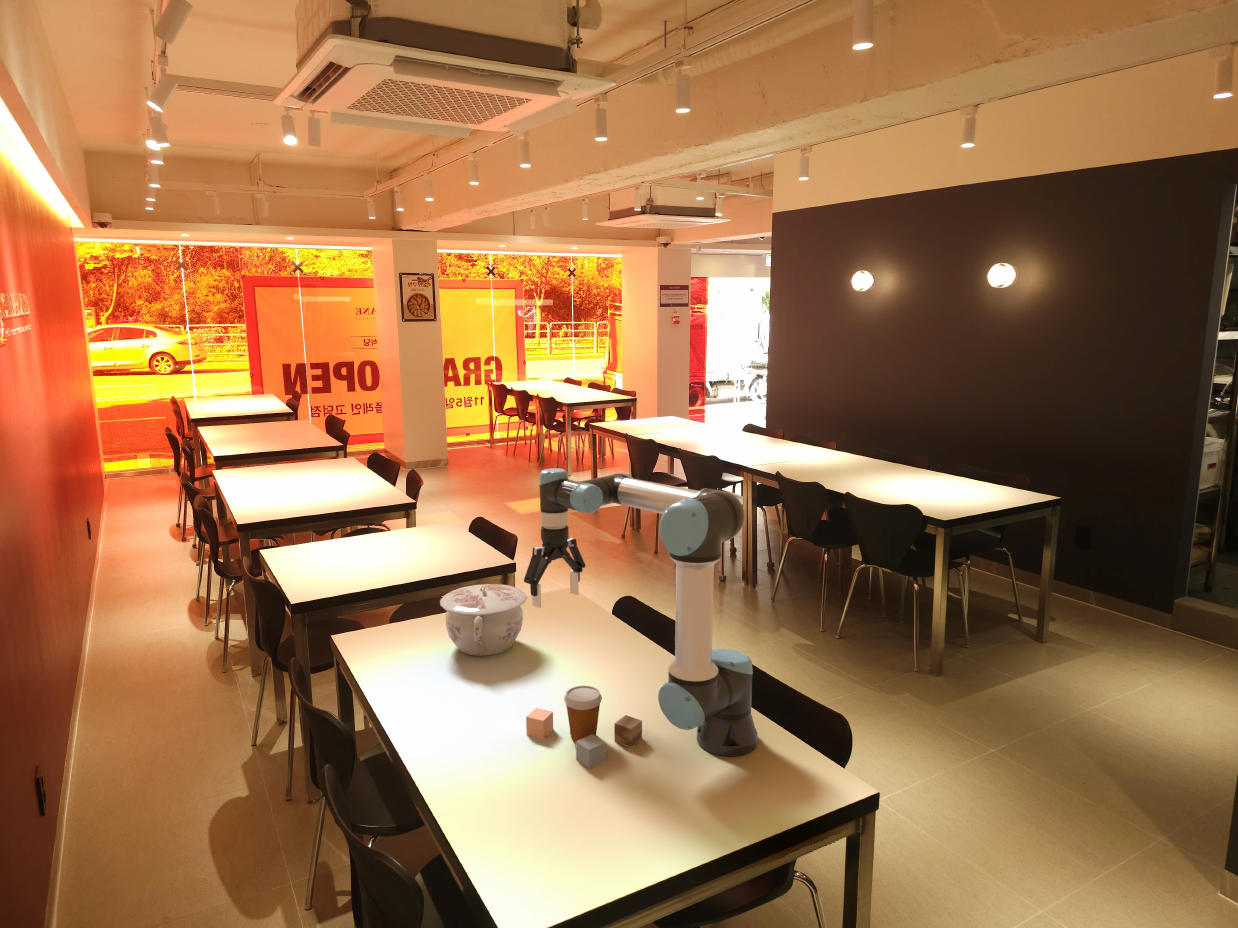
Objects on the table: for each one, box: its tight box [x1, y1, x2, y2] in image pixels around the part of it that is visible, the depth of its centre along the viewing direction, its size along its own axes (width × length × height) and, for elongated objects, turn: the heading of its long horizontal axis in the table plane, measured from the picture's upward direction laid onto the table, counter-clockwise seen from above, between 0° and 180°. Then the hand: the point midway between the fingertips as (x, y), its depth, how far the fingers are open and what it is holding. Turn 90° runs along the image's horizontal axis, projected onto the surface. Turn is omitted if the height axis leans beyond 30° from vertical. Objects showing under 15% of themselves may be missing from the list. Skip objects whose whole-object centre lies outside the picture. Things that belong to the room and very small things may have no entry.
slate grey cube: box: [575, 734, 606, 770], centre depth 185 cm, size 5×5×5 cm
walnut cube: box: [613, 714, 643, 748], centre depth 194 cm, size 5×5×5 cm
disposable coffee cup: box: [563, 684, 603, 743], centre depth 195 cm, size 10×10×12 cm
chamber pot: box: [439, 583, 528, 657], centre depth 248 cm, size 28×28×21 cm
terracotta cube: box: [525, 707, 554, 739], centre depth 198 cm, size 5×5×5 cm
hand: (556, 600), depth 214 cm, fingers open, 13 cm apart
